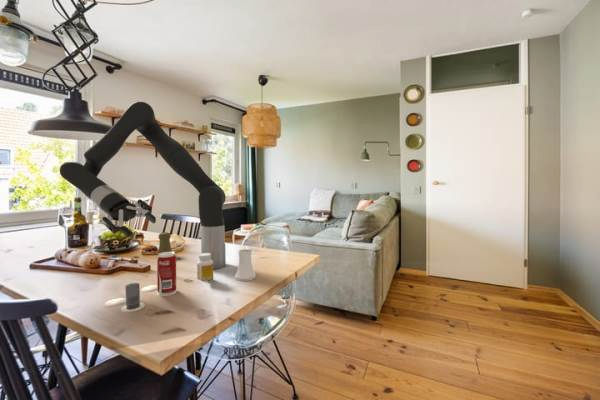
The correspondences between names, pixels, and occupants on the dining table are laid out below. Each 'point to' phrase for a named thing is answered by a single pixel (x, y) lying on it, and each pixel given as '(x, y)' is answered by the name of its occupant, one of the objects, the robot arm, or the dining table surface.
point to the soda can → (166, 273)
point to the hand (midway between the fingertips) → (143, 228)
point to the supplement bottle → (205, 267)
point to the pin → (132, 296)
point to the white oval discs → (123, 300)
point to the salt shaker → (245, 266)
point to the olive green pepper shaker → (164, 242)
